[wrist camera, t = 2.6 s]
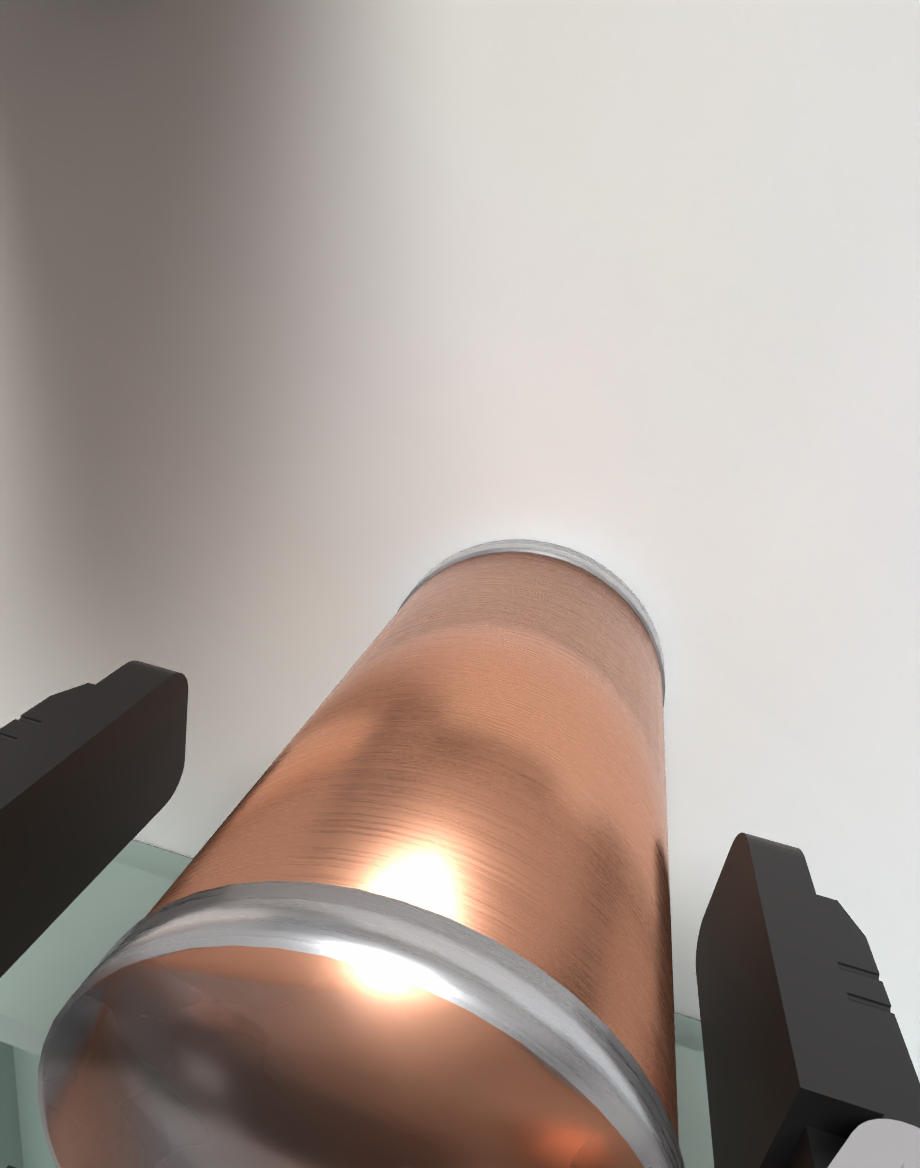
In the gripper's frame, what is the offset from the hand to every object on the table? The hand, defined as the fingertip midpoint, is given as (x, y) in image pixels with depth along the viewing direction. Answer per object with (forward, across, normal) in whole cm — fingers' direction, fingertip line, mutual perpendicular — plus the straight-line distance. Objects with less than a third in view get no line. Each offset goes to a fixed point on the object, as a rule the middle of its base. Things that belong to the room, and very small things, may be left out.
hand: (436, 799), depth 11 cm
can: (+5, -1, 0) cm, 5 cm away
